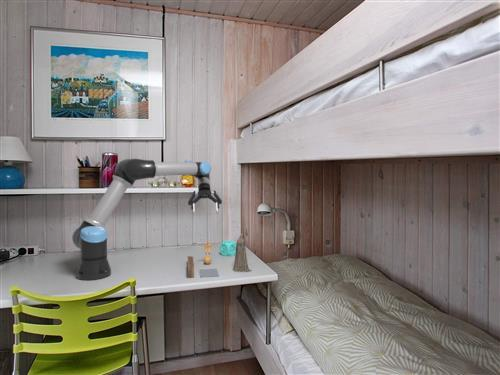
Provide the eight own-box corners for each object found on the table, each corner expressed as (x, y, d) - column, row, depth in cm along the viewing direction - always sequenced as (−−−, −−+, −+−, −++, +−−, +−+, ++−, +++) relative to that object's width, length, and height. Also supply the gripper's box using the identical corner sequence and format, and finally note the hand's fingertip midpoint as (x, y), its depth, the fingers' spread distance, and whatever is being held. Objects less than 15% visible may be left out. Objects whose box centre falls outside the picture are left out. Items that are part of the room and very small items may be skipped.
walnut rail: (187, 278, 158) (187, 270, 158) (187, 262, 185) (187, 256, 185) (194, 277, 158) (194, 270, 158) (193, 262, 186) (193, 256, 186)
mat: (200, 277, 159) (200, 276, 159) (199, 270, 171) (199, 269, 171) (219, 276, 161) (219, 275, 161) (216, 269, 172) (216, 268, 172)
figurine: (199, 265, 180) (199, 243, 180) (200, 262, 186) (200, 241, 186) (215, 264, 181) (215, 243, 180) (215, 261, 187) (215, 241, 186)
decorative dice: (237, 254, 204) (237, 241, 204) (228, 257, 198) (228, 243, 198) (228, 252, 209) (228, 240, 209) (219, 254, 203) (219, 242, 203)
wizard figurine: (251, 267, 176) (251, 221, 175) (252, 272, 168) (252, 223, 167) (232, 267, 176) (232, 221, 175) (232, 272, 168) (232, 223, 166)
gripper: (223, 189, 213) (226, 215, 200) (184, 190, 209) (184, 217, 195) (224, 181, 208) (226, 208, 194) (184, 182, 204) (183, 209, 190)
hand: (205, 212), depth 195 cm, fingers open, 13 cm apart
